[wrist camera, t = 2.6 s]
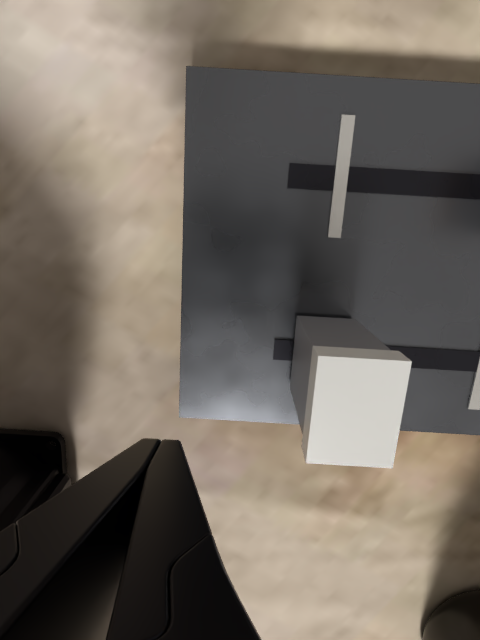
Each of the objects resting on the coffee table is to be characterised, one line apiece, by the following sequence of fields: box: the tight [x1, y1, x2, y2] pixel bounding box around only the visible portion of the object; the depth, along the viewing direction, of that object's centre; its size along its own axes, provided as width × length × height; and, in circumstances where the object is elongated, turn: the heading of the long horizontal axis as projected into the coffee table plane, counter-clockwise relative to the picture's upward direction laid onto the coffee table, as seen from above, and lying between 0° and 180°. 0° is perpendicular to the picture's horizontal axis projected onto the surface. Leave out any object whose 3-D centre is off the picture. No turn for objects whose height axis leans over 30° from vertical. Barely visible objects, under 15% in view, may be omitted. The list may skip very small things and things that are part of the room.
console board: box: [179, 66, 480, 435], centre depth 16 cm, size 18×14×1 cm
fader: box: [290, 316, 412, 468], centre depth 13 cm, size 3×3×5 cm
